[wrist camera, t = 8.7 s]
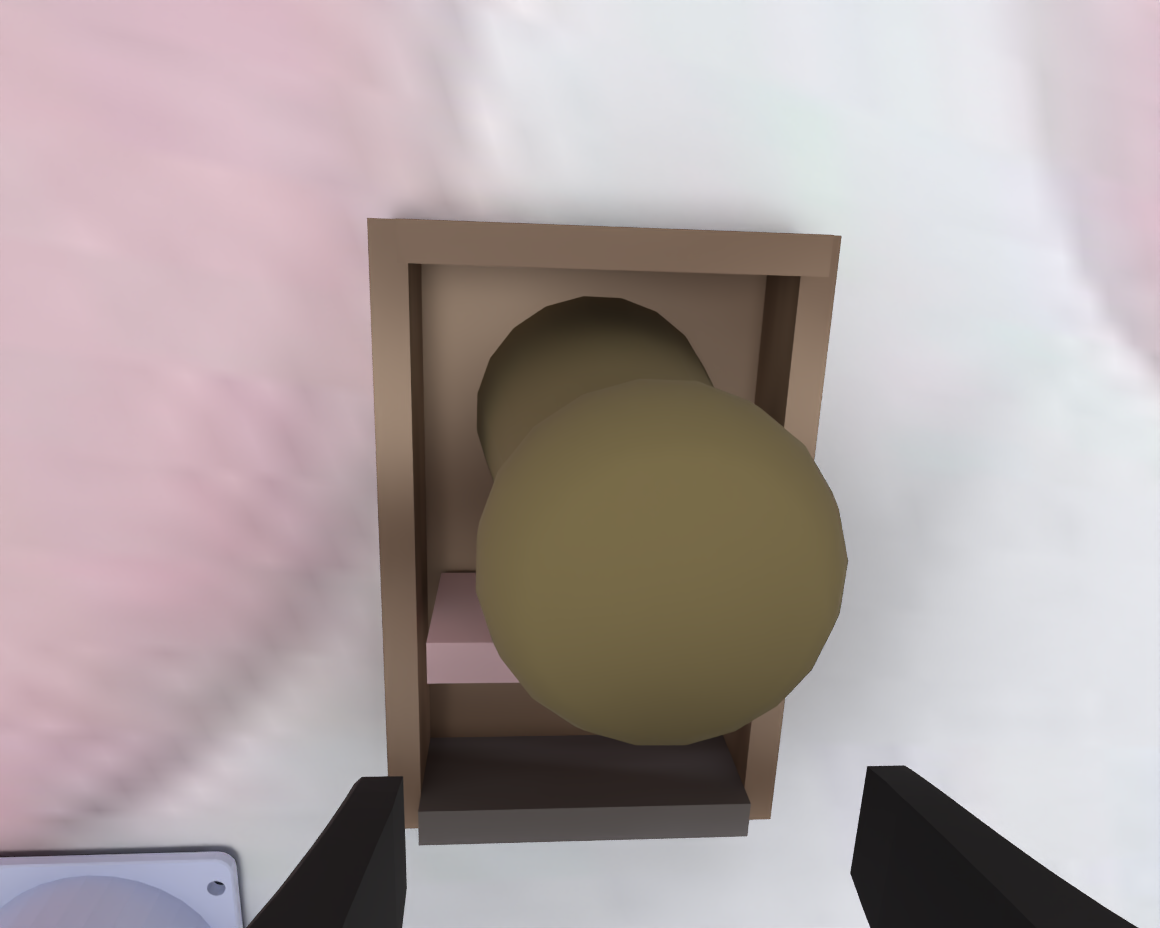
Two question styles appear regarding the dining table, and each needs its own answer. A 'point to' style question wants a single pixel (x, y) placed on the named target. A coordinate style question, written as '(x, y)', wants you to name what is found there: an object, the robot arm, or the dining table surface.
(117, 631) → the dining table surface
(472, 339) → the open box
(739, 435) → the olive bulbous piece
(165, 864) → the robot arm
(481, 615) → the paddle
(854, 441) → the dining table surface
